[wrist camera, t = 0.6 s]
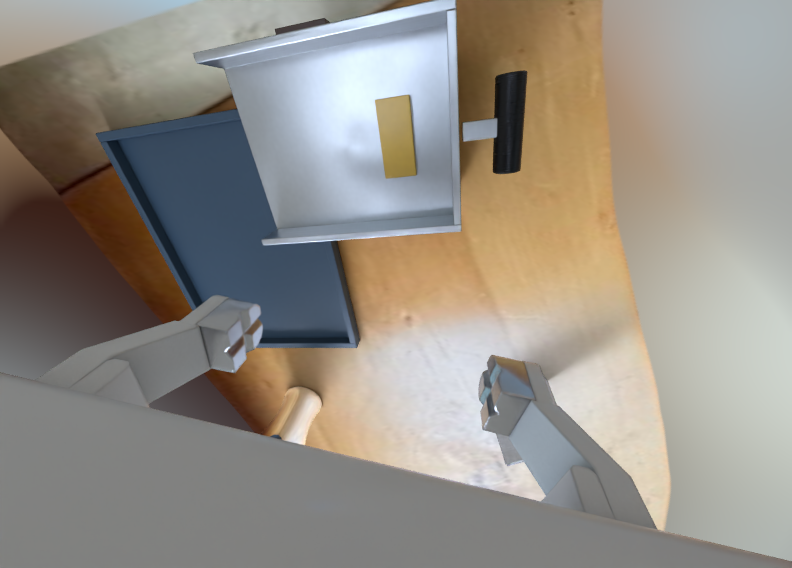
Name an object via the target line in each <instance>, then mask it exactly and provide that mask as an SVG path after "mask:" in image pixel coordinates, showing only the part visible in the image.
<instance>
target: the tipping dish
mask: <svg viewBox="0 0 792 568" xmlns="http://www.w3.org/2000/svg"><path fill="white" fill-rule="evenodd" d="M193 55H194V58H195V60H196V63H198V64H203V65H208V66H213V67H218V68H223V69H224V70H225V73H226V76H227V79H228V82H229V85H230V88H231V91H232V94H233V97H234V100H235V103H236V106H237V109H238V112H239V115H240V118H241V121H242V124H243V127H244V130H245V133H246V136H247V139H248V142H249V145H250V148H251V151H252V154H253V157H254V160H255V163H256V166H257V169H258V172H259V175H260V178H261V181H262V184H263V187H264V190H265V193H266V196H267V199H268V202H269V205H270V208H271V211H272V214H273V217H274V220H275V223H276V226H277V229H276V230H275V231H273V232H272V233H270V234H269V235H267V236H266V237H265V238H263V239H262V243H263V245H276V244H290V243H304V242H318V241H332V240H347V239H361V238H375V237H389V236H403V235H417V234H431V233H446V232H460V231H461V188H460V143H459V98H458V53H457V10H456V0H432V1H427V2H423V3H418V4H414V5H409V6H405V7H400V8H395V9H391V10H386V11H382V12H377V13H373V14H368V15H364V16H359V17H355V18H350V19H346V20H341V21H336V22H332V23H327V24H323V25H318V26H314V27H309V28H305V29H300V30H296V31H291V32H286V33H282V34H277V35H273V36H268V37H264V38H259V39H255V40H250V41H246V42H241V43H237V44H232V45H227V46H223V47H218V48H214V49H209V50H205V51H200V52H196V53H193ZM526 84H527V71H516V72H510V73H505V74H501V75H498V76H496V78H495V111H494V118H490V119H483V120H476V121H468V122H463V123H462V140H463V142H465V141H473V140H481V139H489V138H494V146H493V173H496V174H509V173H515V172H518V171H520V169H521V155H522V141H523V127H524V113H525V99H526ZM402 95H410V101H411V112H412V123H413V135H414V146H415V157H416V168H417V175H416V176H408V177H399V178H390V179H386V178H385V171H384V164H383V157H382V149H381V142H380V135H379V128H378V121H377V113H376V106H375V100H377V99H383V98H389V97H396V96H402Z"/></svg>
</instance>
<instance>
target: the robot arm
mask: <svg viewBox="0 0 792 568" xmlns="http://www.w3.org/2000/svg"><path fill="white" fill-rule="evenodd" d="M260 315H261V309H260V306H259V305H258V304H255V303H251V302H246V301H242V300H238V299H234V298H229V297H224V296H220V295H214V296H212V297H210V298H209V299H208V300H206V301H205V302H204V303H203V304H201V305H200V306H199V307H198V308H196V309H195V310H194V311H192V312H191V313H190V314H189V315H187V316H186V317H185V318H183V319H182V320H181V321H180V322H179V321H172V322H169V323H166V324H163V325H160V326H156V327H153V328H150V329H146V330H143V331H140V332H137V333H134V334H131V335H127V336H124V337H121V338H117V339H114V340H111V341H108V342H104V343H101V344H98V345H95V346H91V347H88V348H85V349H82V350H80V351H79V352H77V353H76V354H74V355H73V356H71V357H70V358H68V359H67V360H65V361H63V362H62V363H60V364H59V365H57V366H56V367H54V368H53V369H51V370H50V371H48V372H47V373H45V374H43V375H42V376H40V377H39V378H37V379H36V380H30V379H26V378H22V377H18V376H13V375H9V374H5V373H1V372H0V568H792V561H787V560H783V559H779V558H775V557H770V556H766V555H762V554H758V553H754V552H749V551H745V550H741V549H736V548H733V547H728V546H724V545H720V544H716V543H711V542H707V541H703V540H699V539H694V538H691V537H686V536H682V535H678V534H674V533H670V532H666V531H661V530H657V528H656V526H655V524H654V522H653V520H652V518H651V516H650V514H649V512H648V510H647V508H646V506H645V504H644V502H643V500H642V498H641V496H640V494H639V492H638V490H637V488H636V486H635V484H634V482H633V480H632V478H631V476H630V475H629V474H628V473H627V472H625V471H624V470H623V469H622V468H621V467H620V466H619V465H618V464H617V463H616V462H615V461H614V460H613V459H612V458H611V457H610V456H609V455H608V454H607V453H606V452H605V451H604V450H603V449H602V448H601V447H600V446H599V445H598V444H597V443H596V442H595V441H594V440H593V439H592V438H591V437H590V436H589V435H588V434H587V433H586V432H585V431H584V430H583V429H582V428H581V427H580V426H579V425H578V424H577V423H576V422H575V421H574V420H573V419H572V418H571V417H570V416H569V415H568V414H567V413H566V412H565V411H563V410H562V409H561V408H560V407H559V406H556V405H554V403H553V400H552V398H551V395H550V392H549V390H548V387H547V384H546V382H545V379H544V376H543V374H542V371H541V368H540V366H539V365H538V364H536V363H531V362H525V361H519V360H514V359H509V358H505V357H500V356H495V355H491V356H490V358H489V360H488V362H487V366H488V370H486V371H484V372H483V373H482V376H481V379H480V383H479V400H480V401H481V403H482V404H483V407H482V409H481V411H480V412H481V420H482V428H483V430H485V431H489V432H493V433H497V434H501V435H505V436H509V439H510V441H511V442H512V444H513V445H514V447H515V448H516V450H517V451H518V453H519V454H520V456H521V458H522V459H523V461H524V462H525V464H526V465H527V467H528V468H529V470H530V472H531V473H532V475H533V476H534V478H535V479H536V481H537V482H538V484H539V486H540V487H541V489H542V490H543V492H544V493H545V495H546V497H545V498H544V499H543V500H542V501H541V502H540V501H536V500H532V499H528V498H524V497H519V496H515V495H511V494H507V493H503V492H499V491H494V490H490V489H486V488H482V487H478V486H473V485H469V484H465V483H461V482H457V481H453V480H448V479H444V478H440V477H436V476H432V475H427V474H423V473H419V472H415V471H411V470H406V469H402V468H398V467H394V466H390V465H385V464H381V463H377V462H373V461H368V460H364V459H360V458H356V457H352V456H347V455H343V454H339V453H335V452H331V451H327V450H322V449H318V448H314V447H310V446H306V445H302V444H297V443H293V442H289V441H285V440H281V439H277V438H273V437H268V436H264V435H260V434H256V433H252V432H247V431H243V430H239V429H235V428H230V427H226V426H222V425H218V424H214V423H210V422H205V421H202V420H197V419H193V418H189V417H185V416H181V415H176V414H172V413H168V412H164V411H160V410H155V409H151V408H150V407H149V405H148V404H149V403H150V402H152V401H154V400H156V399H158V398H159V397H161V396H163V395H165V394H167V393H168V392H170V391H172V390H173V389H176V388H177V387H179V386H181V385H183V384H185V383H187V382H188V381H190V380H192V379H194V378H196V377H197V376H199V375H201V374H203V373H205V372H206V371H208V370H210V368H213V369H218V370H223V371H228V372H233V373H235V372H236V371H237V370H238V369H239V367H240V366H241V365H242V364H243V362H244V361H245V360H246V359H247V357H246V353H247V352H249V351H252V350H254V349H255V348H256V346H257V345H258V344H259V342H260V339H261V337H262V332H263V325H262V323H261V321H260V320H259V319H258V317H259V316H260Z"/></svg>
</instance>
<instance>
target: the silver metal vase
mask: <svg viewBox="0 0 792 568" xmlns="http://www.w3.org/2000/svg"><path fill="white" fill-rule="evenodd" d="M321 407H322V401H321V399H320V397H319V396H318V394H316V393H315V392H314V391H312V390H311V389H308V388H305V387H300V386H296V387H292V388H290V389H288V390H287V392H286V394H285V396H284V399H283V402H282V405H281V407H280V409H279V411H278V413H277V414H276V416H275V417H274V418H273V420H272V421H271V422H270V423H269V425H268V426H267V427H266V428H265V429H264V431H263V432H262V433H261V434H260V435H264V436H268V437H273V438H277V439H281V440H285V441H289V442H293V443H297V444H302V445H305V442H306V438H307V435H308V431H309V428H310V425H311V423H312V421H313V420H314V418H315V416H316V415H317V413H318V412H319V410H320V409H321Z"/></svg>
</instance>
